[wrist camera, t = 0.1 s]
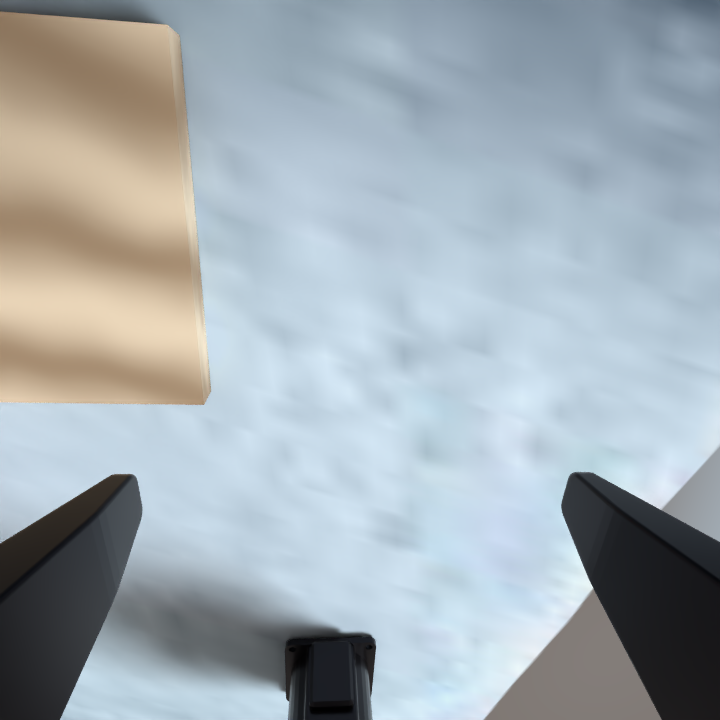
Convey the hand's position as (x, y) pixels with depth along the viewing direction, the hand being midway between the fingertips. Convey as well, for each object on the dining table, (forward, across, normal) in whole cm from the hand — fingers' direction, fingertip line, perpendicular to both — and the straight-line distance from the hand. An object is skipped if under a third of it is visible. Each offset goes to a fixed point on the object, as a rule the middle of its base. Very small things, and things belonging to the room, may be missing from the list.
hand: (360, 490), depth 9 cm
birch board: (+15, +15, -3) cm, 21 cm away
